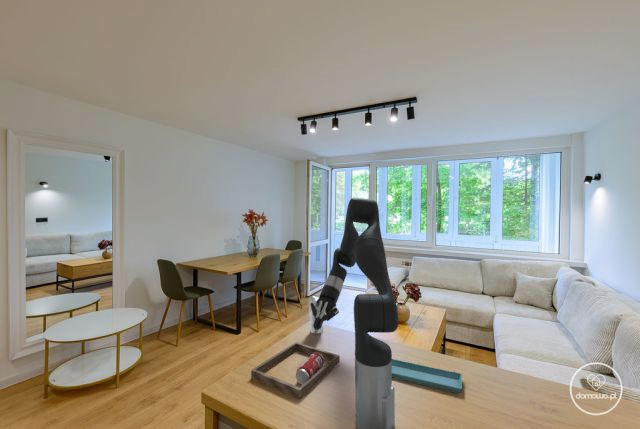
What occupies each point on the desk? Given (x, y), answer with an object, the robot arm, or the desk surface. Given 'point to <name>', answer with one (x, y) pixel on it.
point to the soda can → (309, 367)
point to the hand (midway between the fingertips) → (316, 328)
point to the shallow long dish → (427, 376)
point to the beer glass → (312, 318)
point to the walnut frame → (289, 388)
